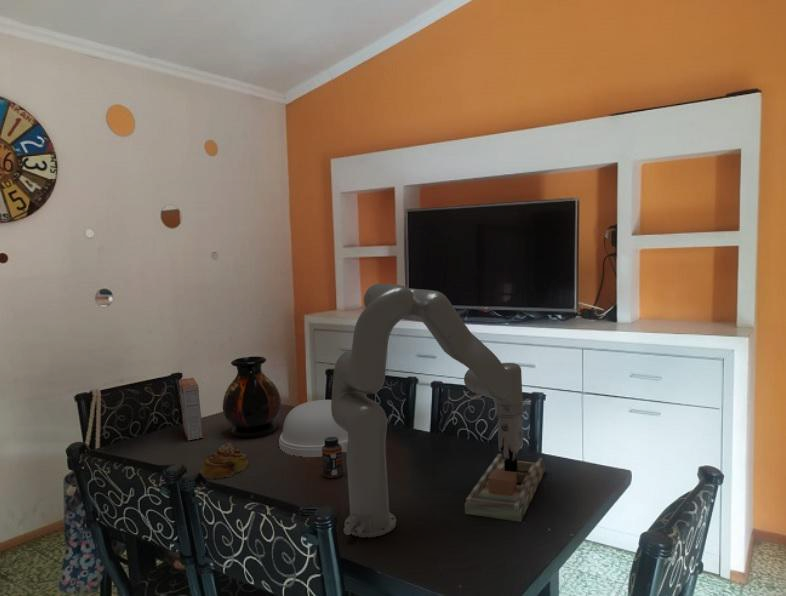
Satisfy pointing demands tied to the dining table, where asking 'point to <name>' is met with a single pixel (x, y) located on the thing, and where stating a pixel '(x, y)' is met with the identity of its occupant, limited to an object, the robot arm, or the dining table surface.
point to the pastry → (224, 462)
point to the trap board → (505, 505)
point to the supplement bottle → (332, 458)
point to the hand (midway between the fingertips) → (511, 473)
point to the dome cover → (310, 429)
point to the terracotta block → (502, 482)
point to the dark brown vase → (251, 400)
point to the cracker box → (191, 408)
